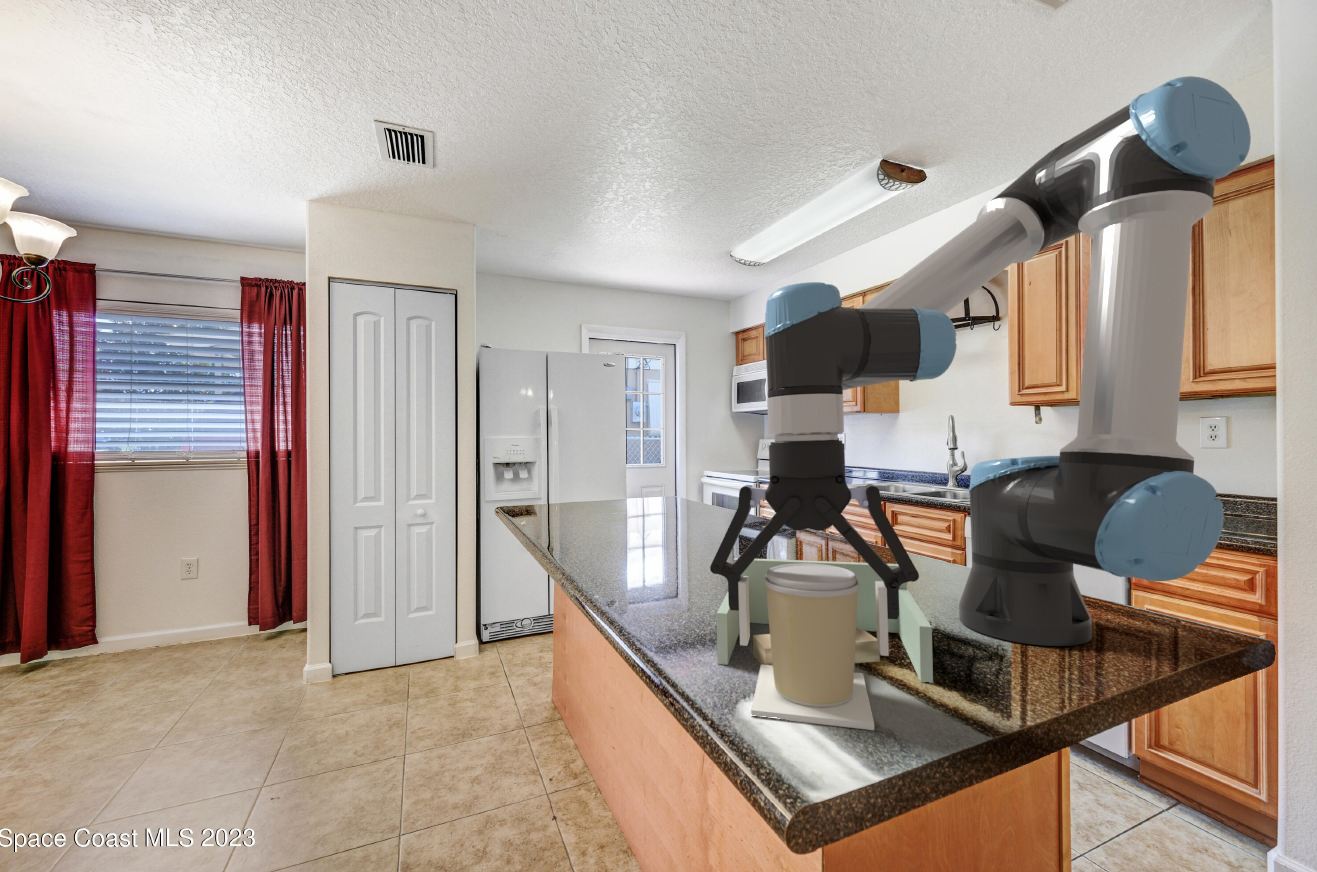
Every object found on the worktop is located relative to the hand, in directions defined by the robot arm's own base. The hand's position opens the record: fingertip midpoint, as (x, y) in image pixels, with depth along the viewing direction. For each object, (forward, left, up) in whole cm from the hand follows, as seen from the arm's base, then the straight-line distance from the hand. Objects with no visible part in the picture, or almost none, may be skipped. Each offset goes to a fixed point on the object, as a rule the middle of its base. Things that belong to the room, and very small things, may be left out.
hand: (811, 645), depth 56 cm
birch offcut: (0, -10, -6) cm, 12 cm away
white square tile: (0, 0, -5) cm, 5 cm away
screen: (-1, -14, -5) cm, 15 cm away
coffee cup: (0, 0, -5) cm, 5 cm away
